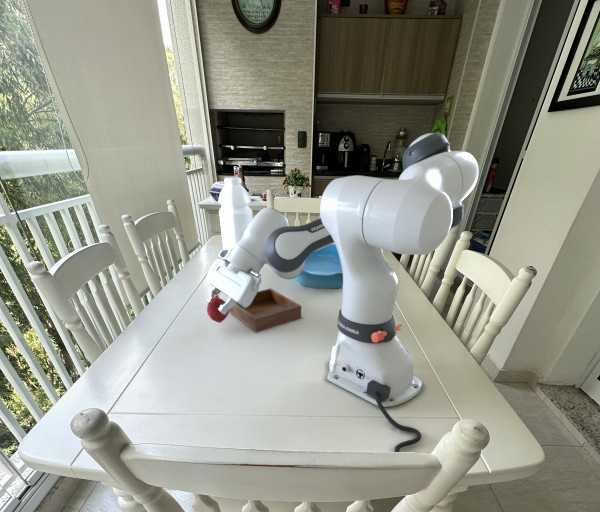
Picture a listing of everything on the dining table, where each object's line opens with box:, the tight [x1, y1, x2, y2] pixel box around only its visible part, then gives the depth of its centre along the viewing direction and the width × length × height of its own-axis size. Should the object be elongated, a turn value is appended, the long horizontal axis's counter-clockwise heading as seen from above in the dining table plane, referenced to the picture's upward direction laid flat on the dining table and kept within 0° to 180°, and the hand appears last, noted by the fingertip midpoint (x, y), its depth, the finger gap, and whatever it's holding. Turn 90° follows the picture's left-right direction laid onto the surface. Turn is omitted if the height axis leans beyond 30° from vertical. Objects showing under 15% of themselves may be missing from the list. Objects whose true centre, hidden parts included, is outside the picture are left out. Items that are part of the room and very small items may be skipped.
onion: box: [206, 294, 230, 324], centre depth 97 cm, size 6×6×8 cm
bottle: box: [217, 176, 254, 250], centre depth 148 cm, size 14×14×28 cm
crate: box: [229, 287, 302, 333], centre depth 106 cm, size 17×16×4 cm
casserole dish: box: [295, 243, 343, 289], centre depth 133 cm, size 37×22×7 cm, turn 175°
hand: (215, 308), depth 96 cm, fingers closed on onion, 5 cm apart
